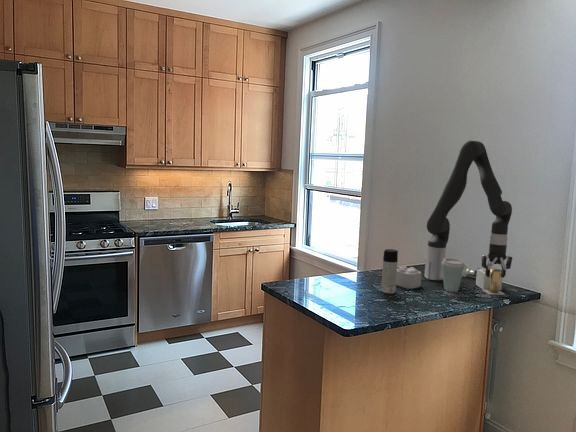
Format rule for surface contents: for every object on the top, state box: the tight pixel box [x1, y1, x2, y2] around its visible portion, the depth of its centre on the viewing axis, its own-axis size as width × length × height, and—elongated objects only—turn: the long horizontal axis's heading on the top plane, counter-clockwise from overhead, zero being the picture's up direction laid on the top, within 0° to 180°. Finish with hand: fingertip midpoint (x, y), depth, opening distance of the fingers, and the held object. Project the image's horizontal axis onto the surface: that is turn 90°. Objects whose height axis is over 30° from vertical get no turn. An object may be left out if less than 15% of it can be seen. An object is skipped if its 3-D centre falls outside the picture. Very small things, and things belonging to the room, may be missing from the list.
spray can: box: [380, 248, 399, 294], centre depth 224 cm, size 7×7×20 cm
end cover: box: [489, 267, 501, 293], centre depth 229 cm, size 4×4×11 cm
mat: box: [482, 289, 506, 296], centre depth 230 cm, size 8×7×1 cm
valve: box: [462, 263, 481, 280], centre depth 257 cm, size 7×7×12 cm
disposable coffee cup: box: [442, 257, 466, 293], centre depth 231 cm, size 11×11×15 cm
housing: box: [475, 268, 503, 291], centre depth 239 cm, size 9×9×8 cm
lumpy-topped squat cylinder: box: [396, 265, 422, 290], centre depth 239 cm, size 10×13×9 cm
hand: (495, 276), depth 229 cm, fingers open, 6 cm apart
